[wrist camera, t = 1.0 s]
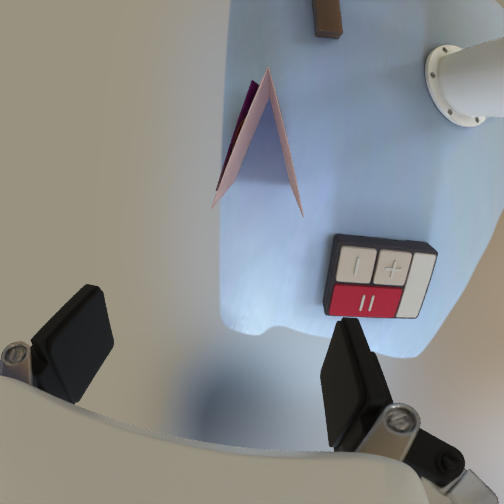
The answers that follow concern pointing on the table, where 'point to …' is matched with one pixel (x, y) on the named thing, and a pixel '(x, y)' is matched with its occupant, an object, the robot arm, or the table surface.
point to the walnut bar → (327, 18)
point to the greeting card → (246, 130)
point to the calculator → (377, 277)
